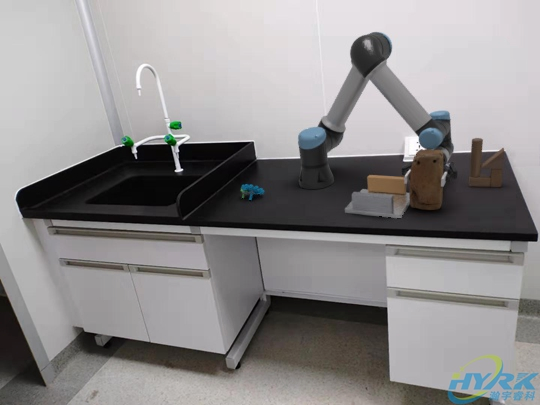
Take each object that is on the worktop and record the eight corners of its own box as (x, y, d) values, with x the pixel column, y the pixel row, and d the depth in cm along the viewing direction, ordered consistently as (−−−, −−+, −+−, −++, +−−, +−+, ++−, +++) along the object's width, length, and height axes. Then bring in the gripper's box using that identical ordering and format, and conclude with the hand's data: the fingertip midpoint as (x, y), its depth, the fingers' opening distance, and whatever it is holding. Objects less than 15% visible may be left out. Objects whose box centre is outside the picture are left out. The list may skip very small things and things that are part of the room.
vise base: (344, 212, 151) (343, 193, 148) (362, 192, 165) (361, 174, 162) (400, 218, 141) (400, 198, 138) (414, 196, 155) (414, 178, 152)
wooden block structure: (501, 187, 152) (505, 140, 145) (468, 186, 157) (471, 140, 150) (500, 183, 155) (504, 137, 148) (468, 183, 160) (471, 137, 153)
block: (442, 202, 146) (444, 148, 138) (441, 212, 140) (443, 155, 132) (410, 201, 150) (410, 148, 142) (408, 210, 144) (408, 155, 136)
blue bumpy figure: (269, 191, 176) (255, 182, 168) (266, 204, 174) (252, 195, 167) (249, 192, 182) (235, 183, 175) (246, 204, 181) (231, 196, 173)
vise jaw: (367, 191, 162) (367, 177, 159) (370, 188, 164) (369, 174, 161) (404, 194, 154) (404, 179, 152) (406, 191, 156) (406, 177, 154)
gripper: (470, 171, 150) (461, 194, 133) (404, 167, 162) (388, 188, 145) (472, 151, 147) (462, 173, 130) (404, 148, 159) (388, 168, 142)
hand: (423, 181), depth 137 cm, fingers closed on block, 11 cm apart
